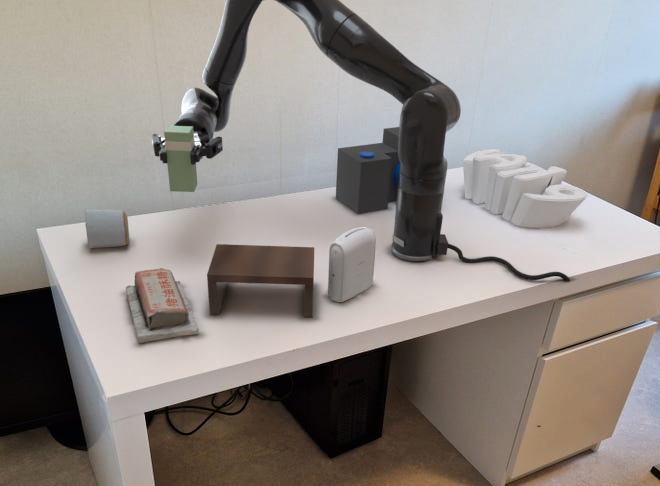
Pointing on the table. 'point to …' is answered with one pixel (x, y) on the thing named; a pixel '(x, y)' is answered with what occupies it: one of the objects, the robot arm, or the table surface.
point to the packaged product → (159, 306)
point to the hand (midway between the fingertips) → (178, 158)
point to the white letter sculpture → (519, 189)
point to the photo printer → (351, 263)
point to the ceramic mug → (106, 228)
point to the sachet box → (180, 158)
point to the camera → (369, 174)
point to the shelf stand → (260, 270)
